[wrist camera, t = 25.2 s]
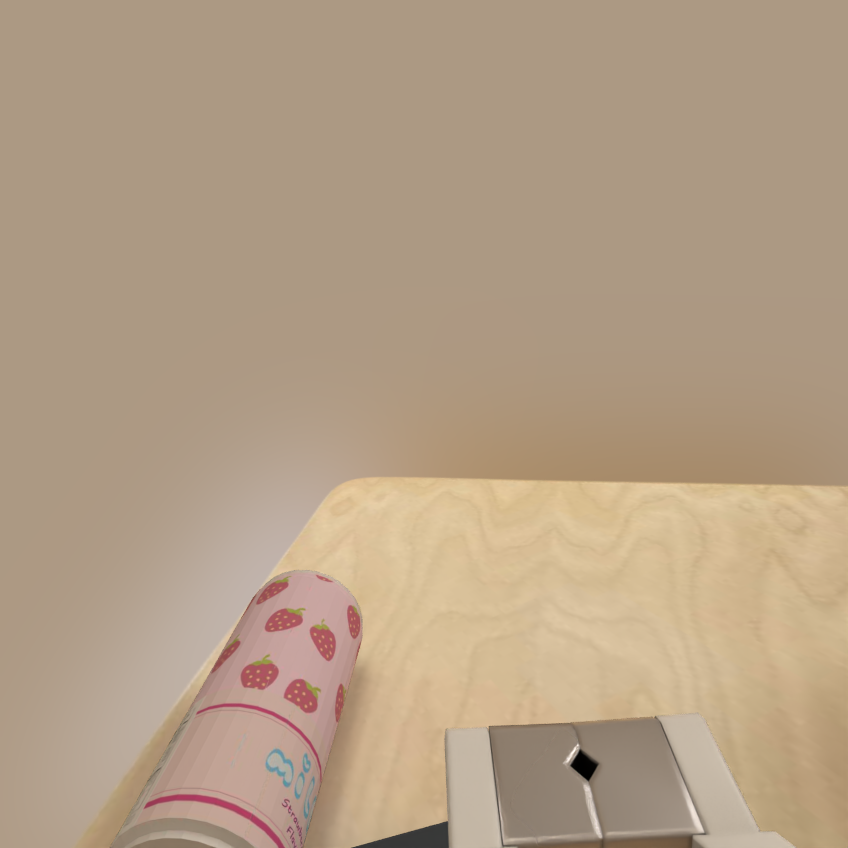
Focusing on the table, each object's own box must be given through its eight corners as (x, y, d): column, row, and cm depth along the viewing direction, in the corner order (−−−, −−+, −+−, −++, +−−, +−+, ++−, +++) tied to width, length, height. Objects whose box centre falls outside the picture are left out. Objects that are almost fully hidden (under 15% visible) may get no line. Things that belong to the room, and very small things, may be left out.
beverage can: (268, 833, 21) (361, 564, 35) (78, 825, 22) (244, 564, 36) (292, 974, 23) (371, 665, 37) (116, 964, 24) (260, 663, 38)
